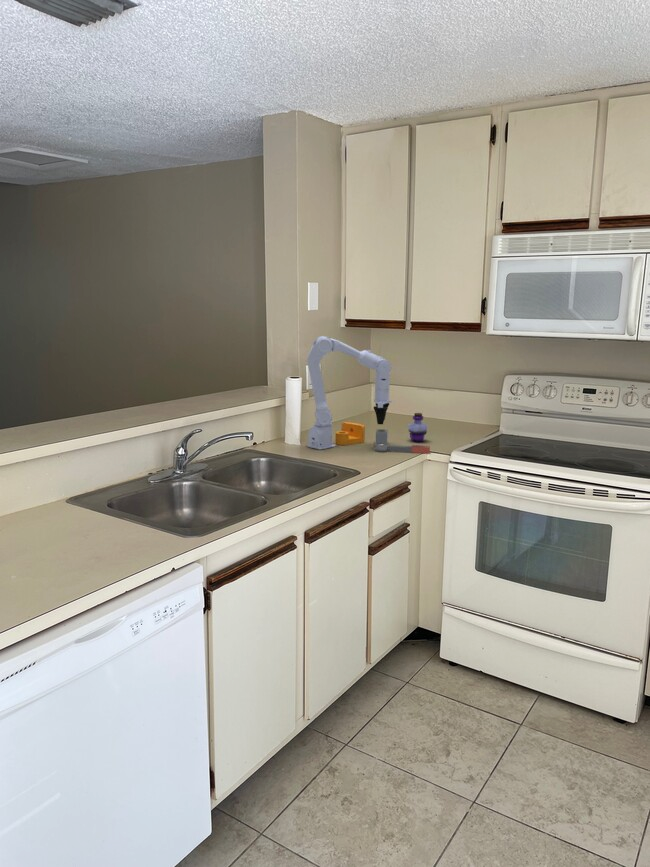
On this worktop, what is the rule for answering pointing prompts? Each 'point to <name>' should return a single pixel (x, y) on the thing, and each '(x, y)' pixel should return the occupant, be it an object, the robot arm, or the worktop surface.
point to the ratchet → (401, 448)
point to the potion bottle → (417, 428)
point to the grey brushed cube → (381, 436)
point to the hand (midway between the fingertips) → (381, 422)
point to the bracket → (350, 434)
